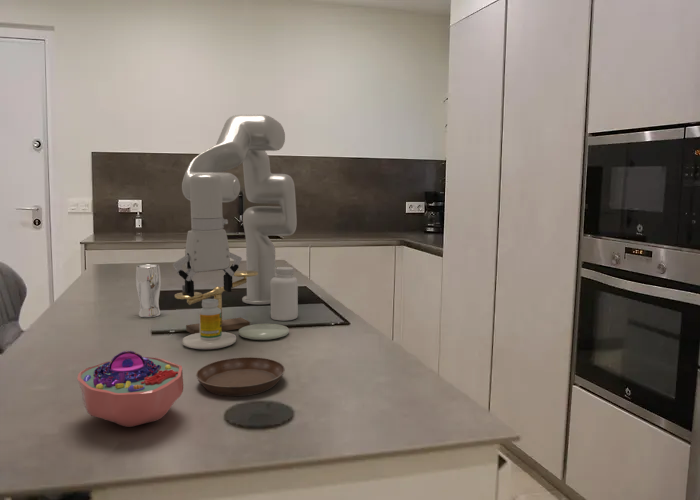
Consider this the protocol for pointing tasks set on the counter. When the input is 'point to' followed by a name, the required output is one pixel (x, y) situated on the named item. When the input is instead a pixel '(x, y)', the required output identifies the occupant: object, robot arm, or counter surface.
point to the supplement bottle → (210, 320)
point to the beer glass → (148, 289)
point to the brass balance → (217, 293)
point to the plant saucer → (240, 376)
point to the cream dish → (198, 343)
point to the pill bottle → (284, 295)
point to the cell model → (131, 388)
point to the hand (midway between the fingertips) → (209, 293)
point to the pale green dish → (263, 331)
